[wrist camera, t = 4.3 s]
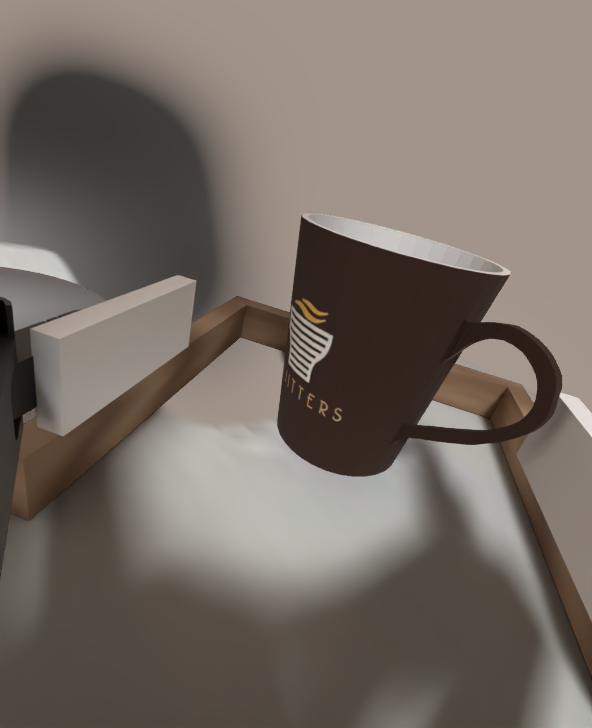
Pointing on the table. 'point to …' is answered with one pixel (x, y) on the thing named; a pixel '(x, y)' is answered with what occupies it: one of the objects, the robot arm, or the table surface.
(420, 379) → the coffee mug
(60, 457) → the brown wooden open frame
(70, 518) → the table surface
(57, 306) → the mat
